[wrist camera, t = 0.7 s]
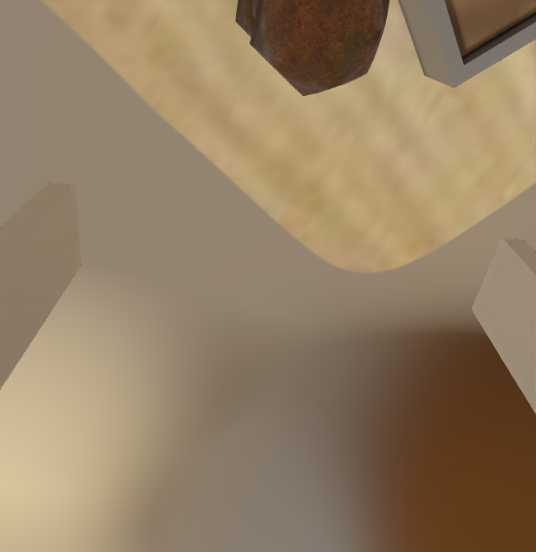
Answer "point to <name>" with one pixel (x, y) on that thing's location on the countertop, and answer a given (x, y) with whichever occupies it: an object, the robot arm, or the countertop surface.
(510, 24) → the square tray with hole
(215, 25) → the countertop surface
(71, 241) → the robot arm
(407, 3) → the open box
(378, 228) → the countertop surface
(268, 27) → the bolt
